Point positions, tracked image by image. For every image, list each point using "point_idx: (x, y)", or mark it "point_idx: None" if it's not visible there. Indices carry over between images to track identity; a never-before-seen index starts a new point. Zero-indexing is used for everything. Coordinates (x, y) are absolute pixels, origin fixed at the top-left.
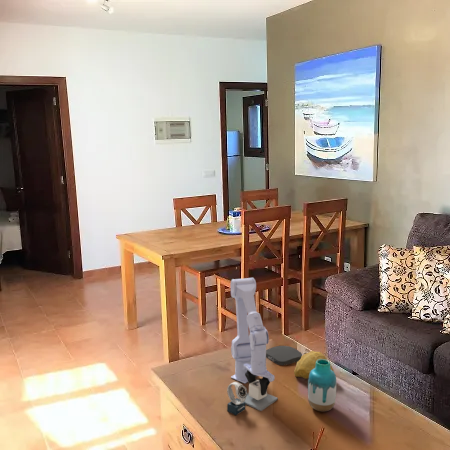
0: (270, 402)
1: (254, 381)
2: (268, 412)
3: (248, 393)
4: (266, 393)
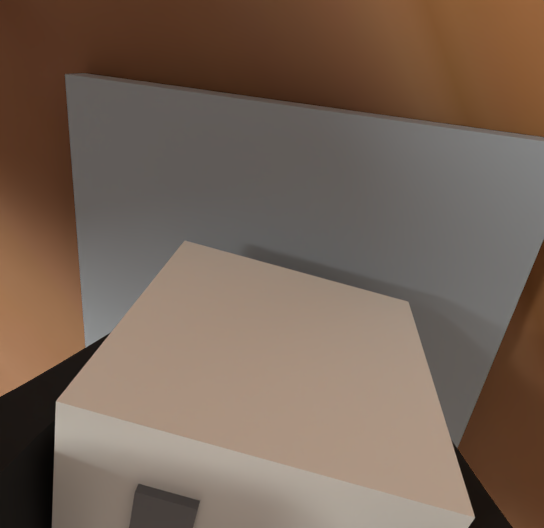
0: (498, 338)
1: (67, 521)
2: (522, 473)
3: (87, 272)
4: (413, 337)
